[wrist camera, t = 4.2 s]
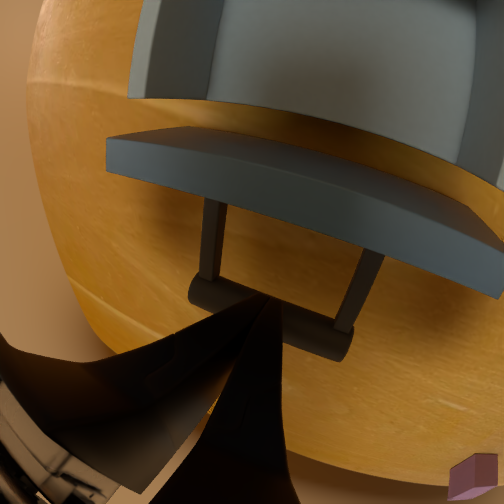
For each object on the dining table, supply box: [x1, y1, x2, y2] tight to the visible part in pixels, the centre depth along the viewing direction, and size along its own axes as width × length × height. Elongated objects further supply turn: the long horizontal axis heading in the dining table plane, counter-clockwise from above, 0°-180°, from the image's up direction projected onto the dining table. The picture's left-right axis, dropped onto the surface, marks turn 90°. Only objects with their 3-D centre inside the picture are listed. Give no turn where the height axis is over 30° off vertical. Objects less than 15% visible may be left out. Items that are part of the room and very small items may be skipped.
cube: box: [447, 454, 498, 500], centre depth 13 cm, size 4×4×4 cm
